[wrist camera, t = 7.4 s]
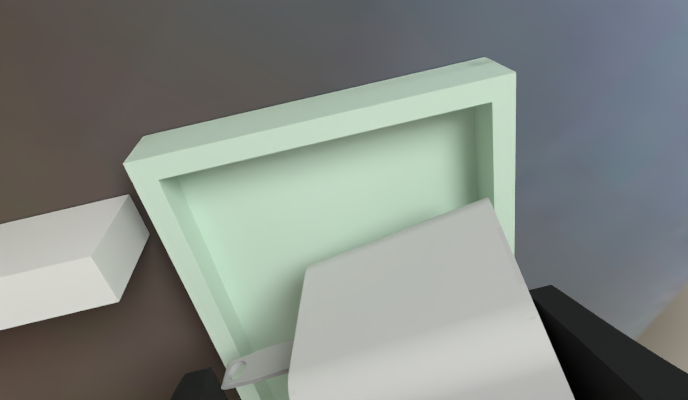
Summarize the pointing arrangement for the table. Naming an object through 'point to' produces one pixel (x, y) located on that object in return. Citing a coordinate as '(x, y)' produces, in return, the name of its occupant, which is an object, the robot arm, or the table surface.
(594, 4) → the table surface
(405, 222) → the tray
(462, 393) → the usb wall charger
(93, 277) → the bay
